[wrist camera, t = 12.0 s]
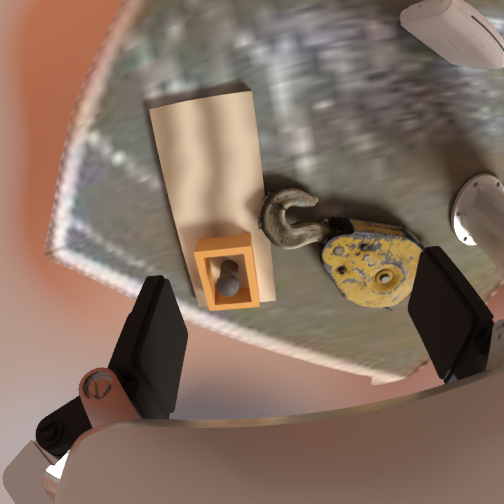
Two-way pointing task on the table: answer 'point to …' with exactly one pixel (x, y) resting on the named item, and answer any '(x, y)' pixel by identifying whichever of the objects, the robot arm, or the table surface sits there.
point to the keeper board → (215, 184)
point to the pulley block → (348, 249)
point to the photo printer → (455, 32)
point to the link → (213, 297)
